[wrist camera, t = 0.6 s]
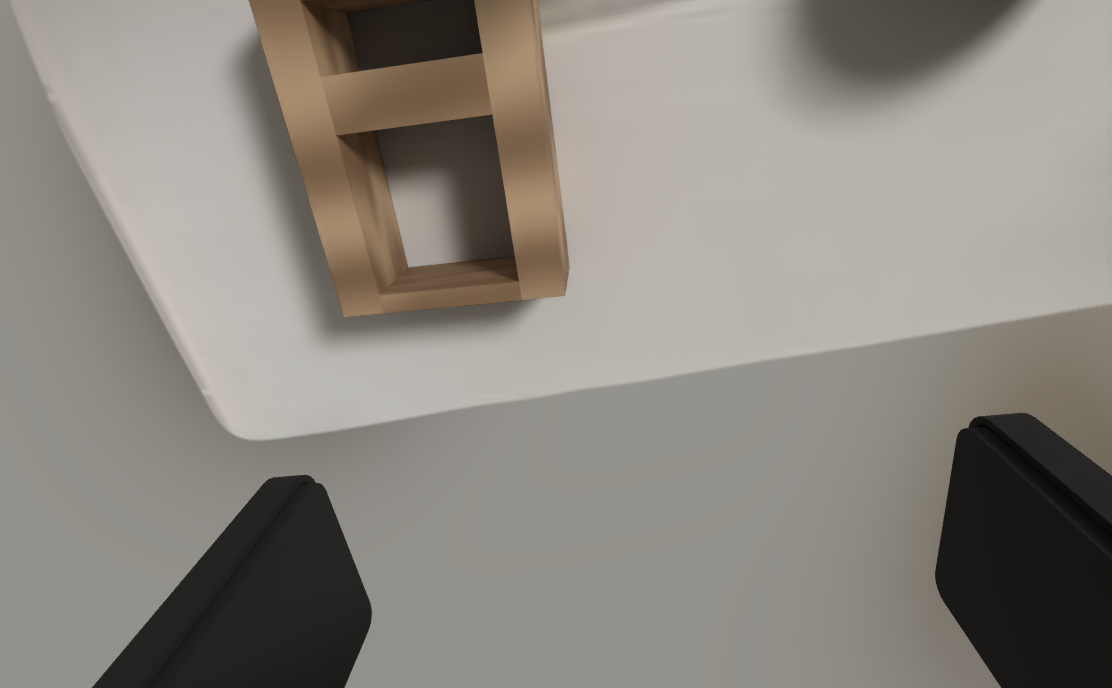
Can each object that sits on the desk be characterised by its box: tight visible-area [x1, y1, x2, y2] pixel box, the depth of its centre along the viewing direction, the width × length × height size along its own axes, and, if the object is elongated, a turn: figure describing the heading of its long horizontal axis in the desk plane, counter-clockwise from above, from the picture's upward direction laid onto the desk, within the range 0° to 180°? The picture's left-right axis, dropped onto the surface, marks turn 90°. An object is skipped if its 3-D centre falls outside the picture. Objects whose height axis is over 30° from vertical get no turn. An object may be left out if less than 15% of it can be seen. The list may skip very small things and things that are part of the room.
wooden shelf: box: [249, 0, 569, 317], centre depth 29 cm, size 16×12×5 cm
